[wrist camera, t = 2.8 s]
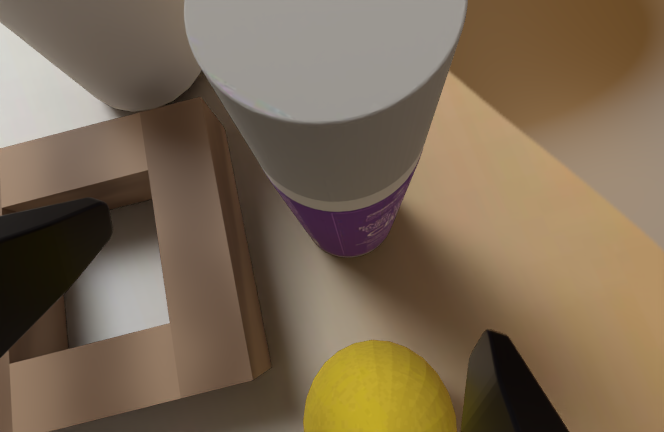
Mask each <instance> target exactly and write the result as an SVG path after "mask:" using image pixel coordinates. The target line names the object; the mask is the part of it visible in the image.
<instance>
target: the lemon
mask: <svg viewBox="0 0 664 432" xmlns="http://www.w3.org/2000/svg"><path fill="white" fill-rule="evenodd" d="M303 425H304V432H457V426H456V415H455V412H454V409H453V405H452V402H451V399H450V395H449V393H448V391H447V389H446V387H445V386H444V384H443V382H442V380H441V379H440V377H439V375H438V374H437V372H436V371H435V370H434V369H433V368H432V367H431V366H430V365H429V364H428V363H427V362H426V361H425V360H424V359H423V358H422V357H421V356H419V355H417V354H416V353H414V352H413V351H411V350H410V349H408V348H407V347H404V346H401V345H398V344H395V343H392V342H390V341H378V340H369V341H364V342H359V343H354V344H352V345H350V346H348V347H346V348H344V349H342V350H340V351H338V352H337V353H336V354H335V355H334V356H332V357H331V358H330V359H329V360H328V361H327V362H325V364H324V365H323V366H322V368H321V369H320V371H319V372H318V374H317V375H316V376H315V378H314V380H313V382H312V385H311V388H310V390H309V393H308V395H307V398H306V404H305V411H304V419H303Z"/></svg>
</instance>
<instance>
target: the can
mask: <svg viewBox="0 0 664 432" xmlns="http://www.w3.org/2000/svg"><path fill="white" fill-rule="evenodd" d="M184 2H185V0H0V22H1V23H2V24H3V25H5V26H6V27H7V28H8V29H10V30H11V31H12V32H14V33H15V34H16V35H17V36H19V37H20V38H21V39H22V40H24V41H25V42H26V43H27V44H29V45H30V46H31V47H32V48H34V49H35V50H36V51H38V52H39V53H40V54H41V55H43V56H44V57H45V58H46V59H48V60H49V61H50V62H51V63H53V64H54V65H55V66H56V67H58V68H59V69H60V70H62V71H63V72H64V73H65V74H67V75H68V76H69V77H70V78H72V79H73V80H74V81H75V82H77V83H78V84H79V85H81V86H82V87H83V88H84V89H86V90H87V91H88V92H89V93H91V94H92V95H93V96H94V97H96V98H97V99H98V100H100V101H102V102H104V103H105V104H107V105H109V106H111V107H112V108H116V109H121V110H126V111H132V112H134V111H142V110H151V109H154V108H157V107H160V106H162V105H164V104H167V103H169V102H172V101H174V100H175V99H176V98H177V97H179V96H180V95H181V94H182V93H184V92H185V91H186V90H187V89H189V88H190V87H191V85H192V84H193V82H194V81H195V79H196V78H197V77H198V75H199V74H200V72H201V71H202V69H201V68H200V66H199V64H198V63H197V61H196V59H195V57H194V55H193V52H192V50H191V47H190V45H189V41H188V38H187V34H186V29H185V21H184Z"/></svg>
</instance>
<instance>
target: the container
mask: <svg viewBox="0 0 664 432" xmlns="http://www.w3.org/2000/svg"><path fill="white" fill-rule="evenodd" d="M466 11H467V0H185V2H184V21H185V29H186V34H187V38H188V41H189V45H190V47H191V50H192V52H193V55H194V57H195V59H196V61H197V63H198V64H199V66H200V68H201V69H202V71H203V73H204V74H205V76H206V77H207V79H208V81H209V82H210V84H211V86H212V87H213V89H214V90H215V92H216V94H217V95H218V97H219V99H220V100H221V102H222V103H223V105H224V107H225V108H226V110H227V112H228V113H229V115H230V117H231V118H232V120H233V121H234V123H235V125H236V126H237V128H238V130H239V131H240V133H241V134H242V136H243V138H244V139H245V141H246V143H247V144H248V146H249V147H250V149H251V151H252V152H253V154H254V156H255V157H256V159H257V160H258V162H259V164H260V165H261V167H262V169H263V171H264V172H265V174H266V176H267V177H268V178H269V180H270V181H271V183H272V184H273V185H274V187H275V188H276V190H277V191H278V192H279V194H280V195H281V197H282V198H283V199H284V201H285V202H286V204H287V205H288V206H289V208H290V209H291V211H292V212H293V213H294V215H295V216H296V218H297V219H298V220H299V222H300V223H301V225H302V226H303V227H304V229H305V230H306V232H307V233H308V234H309V236H310V237H311V239H312V240H313V241H314V242H315V243H316V244H317V245H318V246H319V247H320V248H321V249H323V250H324V251H326V252H328V253H330V254H332V255H335V256H339V257H357V256H361V255H364V254H367V253H369V252H371V251H372V250H374V249H375V248H377V247H378V246H379V245H380V244H381V243H382V242H383V241H384V239H385V238H386V236H387V235H388V233H389V231H390V229H391V227H392V224H393V222H394V220H395V217H396V215H397V212H398V210H399V207H400V205H401V203H402V200H403V198H404V195H405V193H406V191H407V188H408V186H409V183H410V181H411V178H412V176H413V174H414V171H415V169H416V166H417V164H418V162H419V159H420V156H421V153H422V150H423V146H424V143H425V140H426V137H427V134H428V131H429V128H430V125H431V122H432V119H433V116H434V113H435V110H436V107H437V104H438V101H439V98H440V95H441V92H442V89H443V86H444V83H445V80H446V77H447V74H448V71H449V68H450V65H451V62H452V59H453V56H454V53H455V50H456V47H457V44H458V41H459V38H460V35H461V32H462V29H463V25H464V22H465V18H466Z"/></svg>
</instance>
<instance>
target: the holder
mask: <svg viewBox="0 0 664 432" xmlns="http://www.w3.org/2000/svg"><path fill="white" fill-rule="evenodd" d="M87 197H91V198H95V199H98V200H101V201H104V202H105V203H107V205H108V207H109V210H111V209H115V208H119V207H123V206H127V205H130V204H134V203H138V202H142V201H146V200H150V199H152V201H153V208H154V215H155V222H156V229H157V236H158V243H159V250H160V257H161V264H162V271H163V278H164V285H165V292H166V299H167V306H168V313H169V320H170V323H169V324H165V325H161V326H157V327H153V328H149V329H145V330H141V331H137V332H133V333H129V334H126V335H122V336H118V337H114V338H110V339H106V340H102V341H98V342H94V343H90V344H86V345H82V346H78V347H74V348H70V349H68V339H67V327H66V315H65V303H64V294H63V295H62V297H61V298H60V299H59V300H58V301H57V302H56V303H55V304H54V305H53V306H52V307H51V308H50V309H49V310H48V311H47V312H46V313H45V314H44V315H43V316H42V317H41V318H40V319H39V320H38V321H37V322H36V323H35V324H34V325H33V326H32V327H31V328H30V329H29V330H28V331H27V332H26V333H25V334H24V335H23V336H22V337H21V338H20V339H19V340H18V341H17V342H16V343H15V344H14V345H13V346H12V347H11V348H10V349H9V350H8V351H7V352H6V353H5V354H4V355H3V356H2V357H1V358H0V432H49V431H53V430H57V429H61V428H65V427H69V426H73V425H77V424H81V423H85V422H89V421H93V420H97V419H101V418H105V417H109V416H113V415H117V414H121V413H125V412H129V411H133V410H137V409H141V408H145V407H149V406H153V405H157V404H161V403H165V402H169V401H173V400H177V399H180V398H184V397H188V396H192V395H196V394H200V393H204V392H208V391H212V390H216V389H220V388H224V387H228V386H232V385H236V384H240V383H244V382H248V381H252V380H254V379H256V378H257V377H258V376H260V375H261V374H263V373H264V372H266V371H267V370H268V369H270V368H271V367H272V366H271V361H270V355H269V350H268V345H267V340H266V335H265V330H264V325H263V320H262V315H261V310H260V305H259V300H258V295H257V290H256V284H255V279H254V274H253V269H252V264H251V259H250V254H249V249H248V244H247V239H246V234H245V229H244V224H243V219H242V213H241V208H240V203H239V198H238V193H237V188H236V183H235V178H234V173H233V168H232V163H231V158H230V153H229V148H228V142H227V137H226V132H225V128H224V127H223V126H222V124H221V123H220V122H219V120H218V119H217V118H216V116H215V115H214V114H213V112H212V111H211V110H210V108H209V107H208V106H207V105H206V103H205V102H204V101H203V99H202V98H201V97H197V98H193V99H189V100H185V101H181V102H178V103H174V104H170V105H166V106H162V107H158V108H154V109H151V110H147V111H143V112H139V113H135V114H131V115H128V116H124V117H120V118H116V119H112V120H108V121H104V122H101V123H97V124H93V125H89V126H85V127H81V128H77V129H74V130H70V131H66V132H62V133H58V134H54V135H51V136H47V137H43V138H39V139H35V140H31V141H27V142H24V143H20V144H16V145H12V146H8V147H4V148H0V216H2V215H7V214H11V213H16V212H21V211H26V210H30V209H35V208H40V207H44V206H49V205H54V204H58V203H63V202H68V201H72V200H77V199H82V198H87Z"/></svg>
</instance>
